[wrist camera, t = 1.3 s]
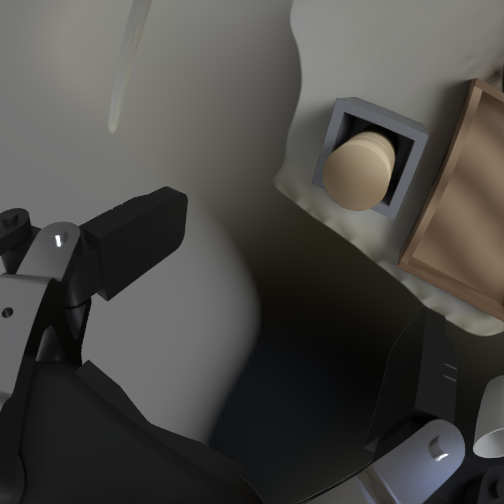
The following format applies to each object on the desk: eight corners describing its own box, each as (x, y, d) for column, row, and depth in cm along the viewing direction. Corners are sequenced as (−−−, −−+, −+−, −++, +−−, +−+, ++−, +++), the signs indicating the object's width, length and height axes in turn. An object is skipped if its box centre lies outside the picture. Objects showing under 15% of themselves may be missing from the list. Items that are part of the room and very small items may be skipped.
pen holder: (354, 97, 27) (336, 98, 21) (424, 125, 25) (428, 135, 19) (334, 162, 31) (311, 183, 25) (399, 190, 29) (394, 219, 23)
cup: (521, 397, 30) (523, 452, 23) (475, 406, 35) (471, 461, 28) (526, 362, 28) (534, 421, 21) (475, 373, 33) (474, 433, 26)
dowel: (364, 118, 27) (333, 134, 17) (403, 134, 26) (398, 161, 16) (352, 155, 29) (314, 194, 19) (390, 171, 28) (374, 221, 18)
